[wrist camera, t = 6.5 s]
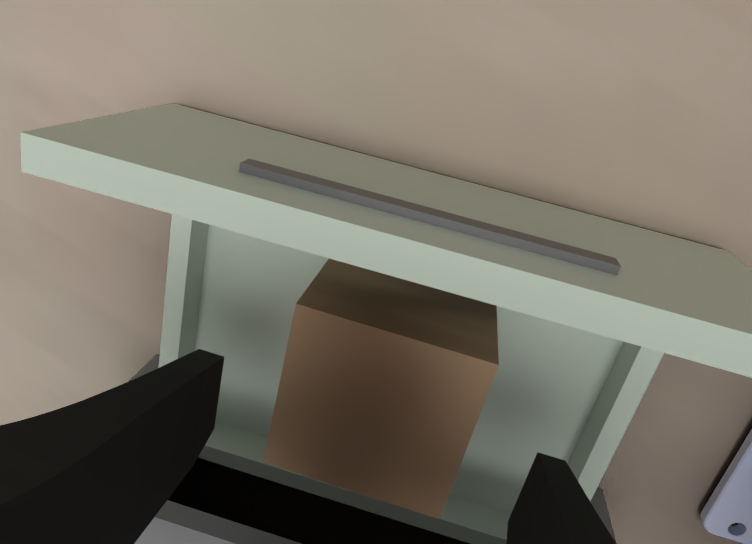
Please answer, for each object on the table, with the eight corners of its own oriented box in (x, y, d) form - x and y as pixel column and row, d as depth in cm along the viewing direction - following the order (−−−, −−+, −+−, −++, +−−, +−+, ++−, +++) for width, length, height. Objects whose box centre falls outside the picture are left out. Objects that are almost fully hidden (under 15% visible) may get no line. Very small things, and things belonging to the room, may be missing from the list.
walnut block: (495, 284, 17) (498, 365, 12) (450, 412, 18) (439, 519, 14) (342, 240, 17) (295, 303, 13) (312, 369, 19) (263, 461, 15)
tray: (731, 244, 15) (866, 354, 10) (582, 539, 20) (618, 729, 14) (173, 96, 17) (20, 121, 11) (148, 404, 21) (29, 531, 16)
